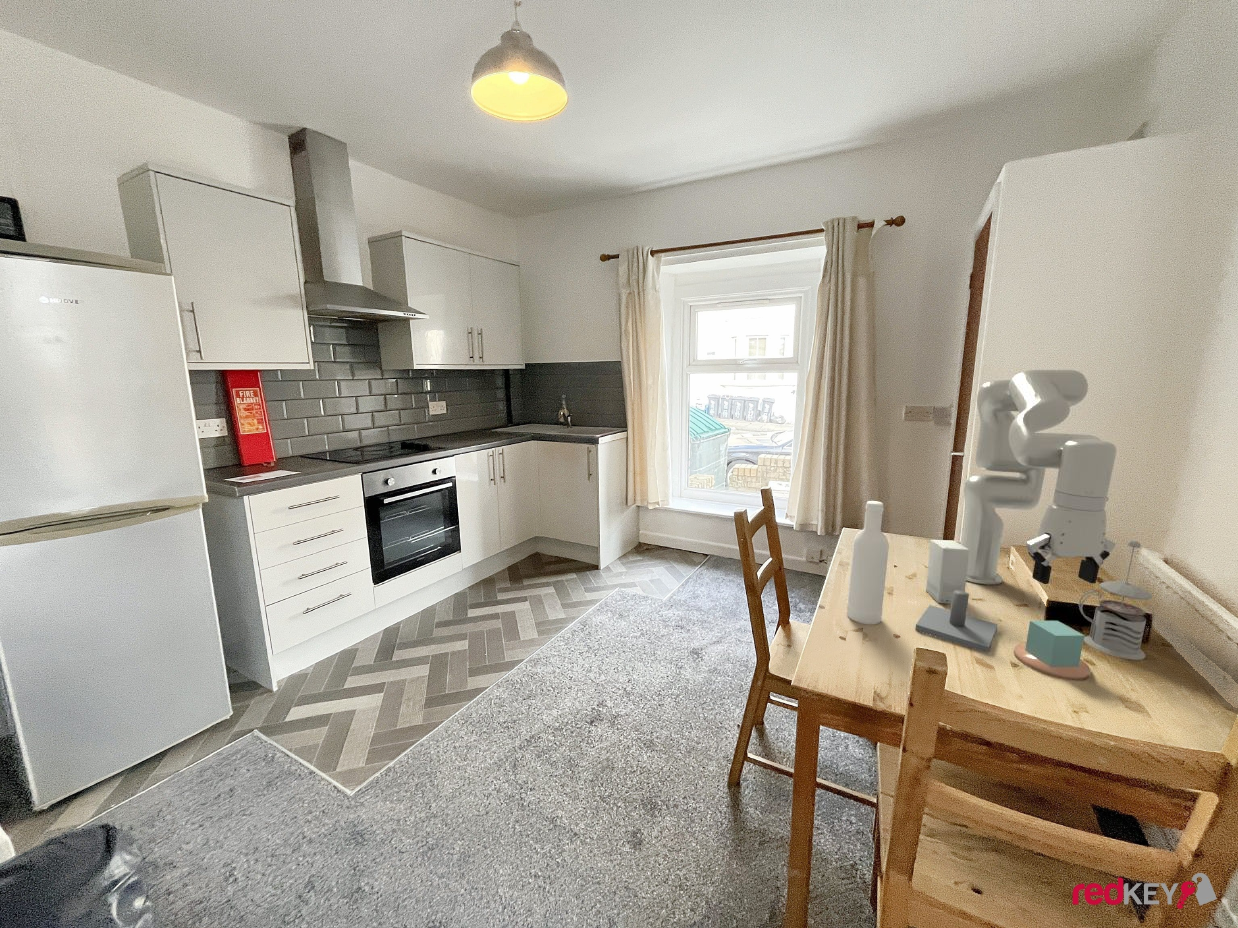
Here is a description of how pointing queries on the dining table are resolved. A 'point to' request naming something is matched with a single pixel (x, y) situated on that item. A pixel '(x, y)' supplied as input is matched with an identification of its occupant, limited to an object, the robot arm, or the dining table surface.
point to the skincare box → (946, 569)
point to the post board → (956, 634)
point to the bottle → (868, 568)
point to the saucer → (1059, 672)
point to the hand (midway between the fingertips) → (1063, 580)
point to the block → (1054, 643)
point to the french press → (1118, 619)
